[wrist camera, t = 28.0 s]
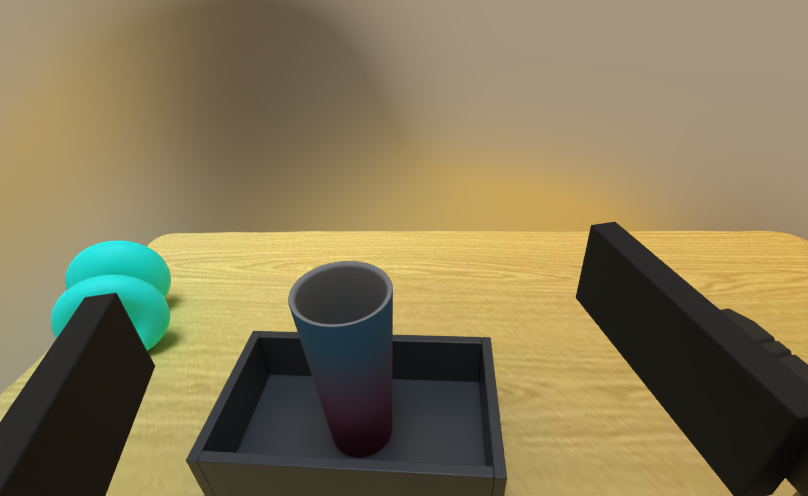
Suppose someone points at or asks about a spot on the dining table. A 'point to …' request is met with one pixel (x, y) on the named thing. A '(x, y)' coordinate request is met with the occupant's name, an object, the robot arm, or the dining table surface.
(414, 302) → the dining table surface
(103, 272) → the donuts
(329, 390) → the cup
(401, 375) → the dark grey tray
